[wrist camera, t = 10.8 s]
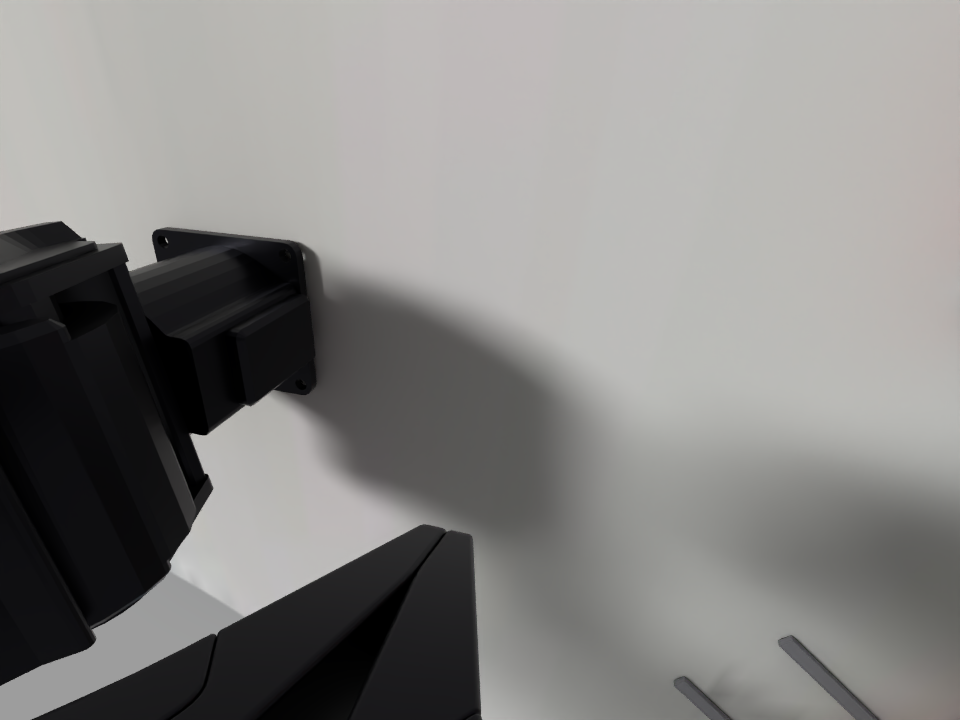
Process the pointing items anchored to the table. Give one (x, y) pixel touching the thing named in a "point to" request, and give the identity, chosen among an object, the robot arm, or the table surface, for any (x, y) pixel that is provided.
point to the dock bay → (807, 663)
